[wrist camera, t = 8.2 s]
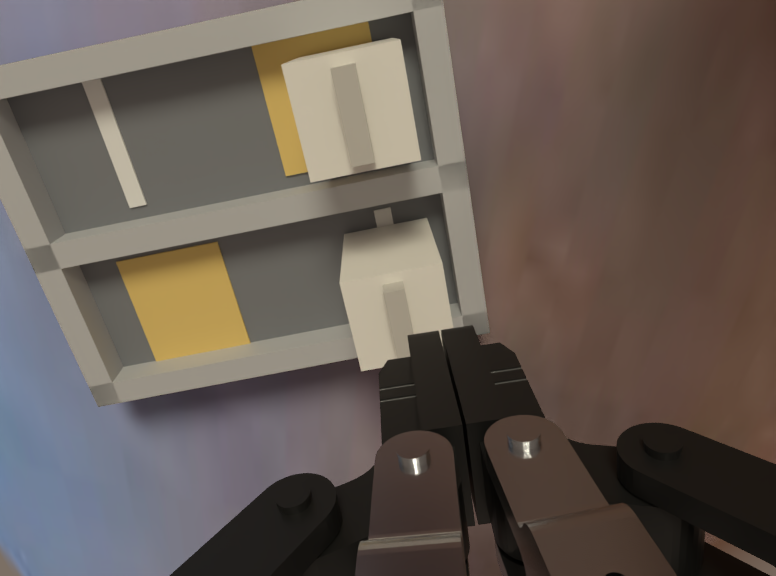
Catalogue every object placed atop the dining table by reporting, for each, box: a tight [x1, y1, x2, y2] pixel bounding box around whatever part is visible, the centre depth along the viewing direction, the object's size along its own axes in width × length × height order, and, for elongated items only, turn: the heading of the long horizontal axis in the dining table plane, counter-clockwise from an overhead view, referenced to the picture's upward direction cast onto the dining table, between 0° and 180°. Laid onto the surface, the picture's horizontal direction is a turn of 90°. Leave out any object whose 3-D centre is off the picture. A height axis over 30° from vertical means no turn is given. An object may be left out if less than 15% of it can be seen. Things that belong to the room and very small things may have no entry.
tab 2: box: [339, 218, 453, 371], centre depth 26 cm, size 4×4×7 cm
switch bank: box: [0, 0, 490, 407], centre depth 28 cm, size 20×16×3 cm
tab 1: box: [281, 38, 421, 182], centre depth 23 cm, size 4×4×7 cm
